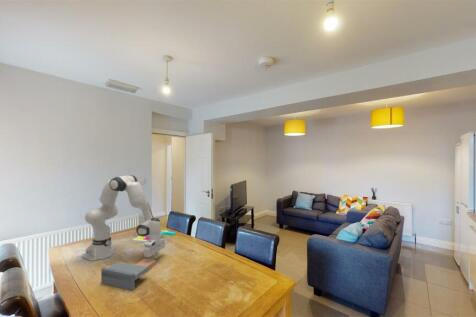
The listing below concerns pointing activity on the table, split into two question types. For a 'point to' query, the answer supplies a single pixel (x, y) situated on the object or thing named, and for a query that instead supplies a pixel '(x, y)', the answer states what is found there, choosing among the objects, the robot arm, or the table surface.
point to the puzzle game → (144, 238)
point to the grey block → (122, 275)
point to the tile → (147, 263)
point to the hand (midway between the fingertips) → (155, 258)
